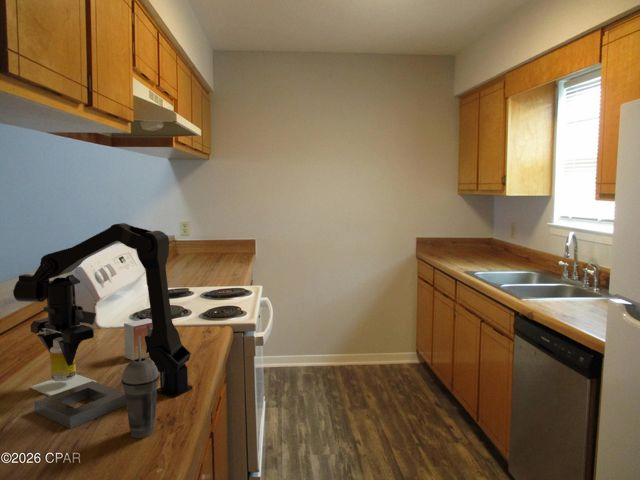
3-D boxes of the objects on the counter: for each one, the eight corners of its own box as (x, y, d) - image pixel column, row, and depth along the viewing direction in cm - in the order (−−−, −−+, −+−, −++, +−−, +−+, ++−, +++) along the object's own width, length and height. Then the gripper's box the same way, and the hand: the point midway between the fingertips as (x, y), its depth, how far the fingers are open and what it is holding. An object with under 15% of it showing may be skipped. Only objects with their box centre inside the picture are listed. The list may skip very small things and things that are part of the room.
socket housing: (128, 403, 113) (128, 393, 113) (70, 428, 101) (70, 417, 101) (92, 390, 120) (92, 380, 120) (34, 412, 109) (34, 401, 108)
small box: (134, 361, 141) (132, 326, 140) (124, 357, 144) (123, 323, 143) (158, 354, 147) (157, 320, 146) (149, 350, 150) (147, 317, 149)
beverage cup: (124, 444, 95) (120, 345, 93) (122, 428, 101) (119, 335, 99) (162, 437, 98) (159, 340, 96) (159, 421, 104) (156, 331, 102)
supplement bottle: (71, 381, 121) (69, 341, 120) (47, 382, 120) (45, 342, 119) (79, 373, 126) (77, 335, 125) (57, 374, 126) (55, 336, 125)
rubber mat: (97, 382, 125) (97, 381, 125) (54, 398, 116) (54, 396, 116) (72, 374, 131) (72, 372, 131) (30, 388, 122) (30, 386, 122)
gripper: (111, 300, 123) (114, 360, 125) (69, 292, 133) (72, 347, 135) (69, 309, 114) (73, 373, 115) (27, 300, 124) (31, 359, 125)
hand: (63, 362), depth 123 cm, fingers closed on supplement bottle, 6 cm apart
